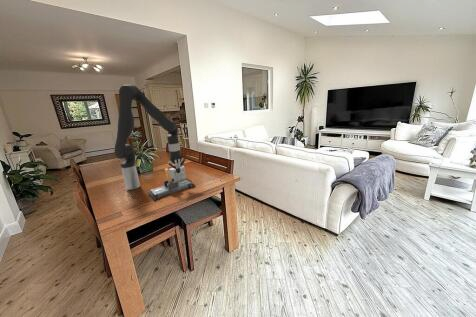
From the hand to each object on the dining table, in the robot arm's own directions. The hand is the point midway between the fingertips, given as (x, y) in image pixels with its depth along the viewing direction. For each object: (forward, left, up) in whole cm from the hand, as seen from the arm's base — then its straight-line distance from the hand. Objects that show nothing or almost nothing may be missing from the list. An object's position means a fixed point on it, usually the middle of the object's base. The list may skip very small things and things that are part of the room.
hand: (178, 172), depth 137 cm
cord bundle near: (0, -19, -11) cm, 22 cm away
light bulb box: (-15, +4, -12) cm, 20 cm away
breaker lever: (0, -7, -7) cm, 10 cm away
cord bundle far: (0, +7, -11) cm, 13 cm away
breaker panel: (0, -7, -11) cm, 13 cm away
